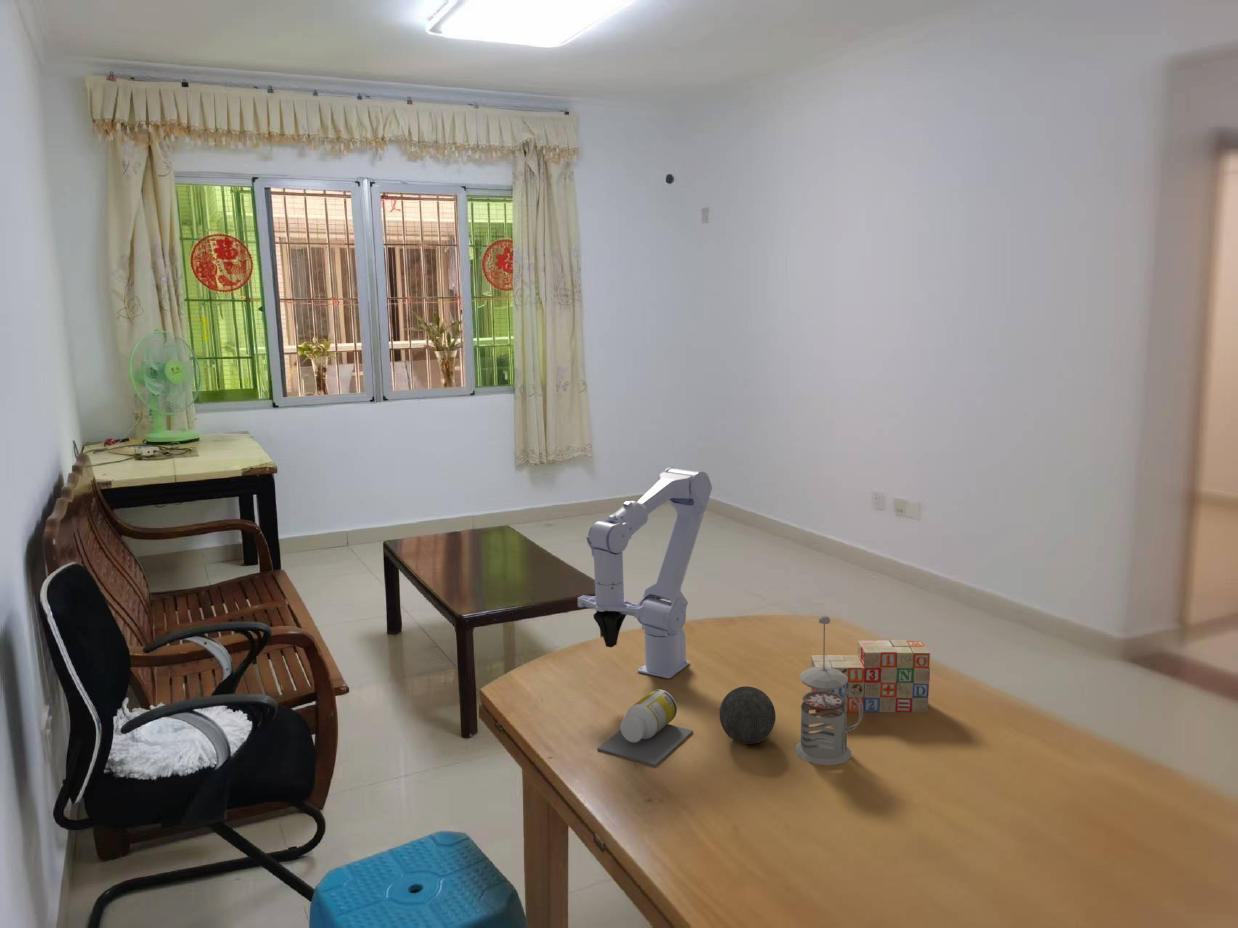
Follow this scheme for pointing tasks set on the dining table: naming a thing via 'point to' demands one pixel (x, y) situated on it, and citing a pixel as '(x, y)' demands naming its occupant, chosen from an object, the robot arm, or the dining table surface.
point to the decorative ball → (747, 715)
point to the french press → (827, 742)
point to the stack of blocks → (883, 676)
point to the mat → (647, 745)
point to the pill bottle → (648, 716)
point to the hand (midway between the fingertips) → (611, 645)
